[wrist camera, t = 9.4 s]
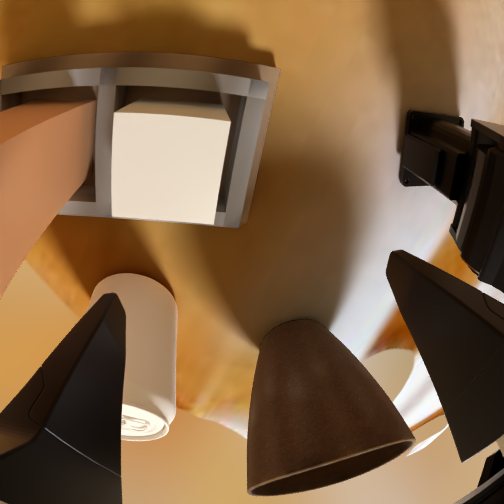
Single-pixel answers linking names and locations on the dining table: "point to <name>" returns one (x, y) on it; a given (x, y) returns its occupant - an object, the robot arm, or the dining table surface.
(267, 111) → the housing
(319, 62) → the dining table surface
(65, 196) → the jaw tall
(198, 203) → the cream white block
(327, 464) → the plant pot
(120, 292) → the beverage can
